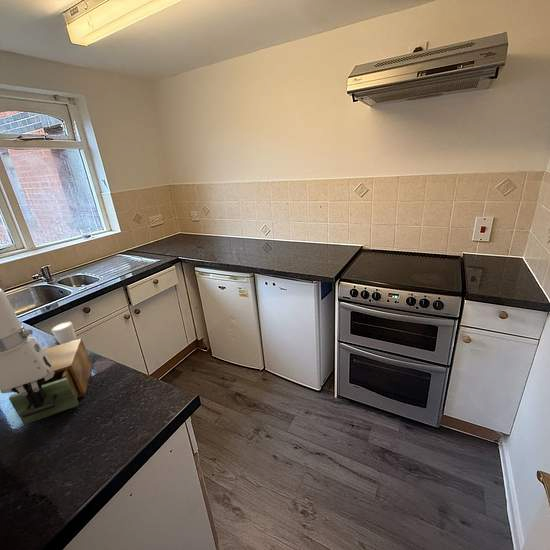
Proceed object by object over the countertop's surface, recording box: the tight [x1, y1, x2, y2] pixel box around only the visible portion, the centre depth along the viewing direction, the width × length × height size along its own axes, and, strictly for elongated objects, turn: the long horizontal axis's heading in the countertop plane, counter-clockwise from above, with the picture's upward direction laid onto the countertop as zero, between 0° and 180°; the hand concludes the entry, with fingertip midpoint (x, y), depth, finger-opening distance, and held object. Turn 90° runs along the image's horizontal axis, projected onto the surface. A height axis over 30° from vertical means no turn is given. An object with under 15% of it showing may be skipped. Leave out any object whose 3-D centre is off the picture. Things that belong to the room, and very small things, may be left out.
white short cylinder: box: [50, 321, 78, 345], centre depth 115 cm, size 7×7×7 cm
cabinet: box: [43, 338, 94, 399], centre depth 88 cm, size 16×14×11 cm
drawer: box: [8, 369, 80, 426], centre depth 81 cm, size 19×12×9 cm, turn 23°
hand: (40, 402), depth 74 cm, fingers closed
